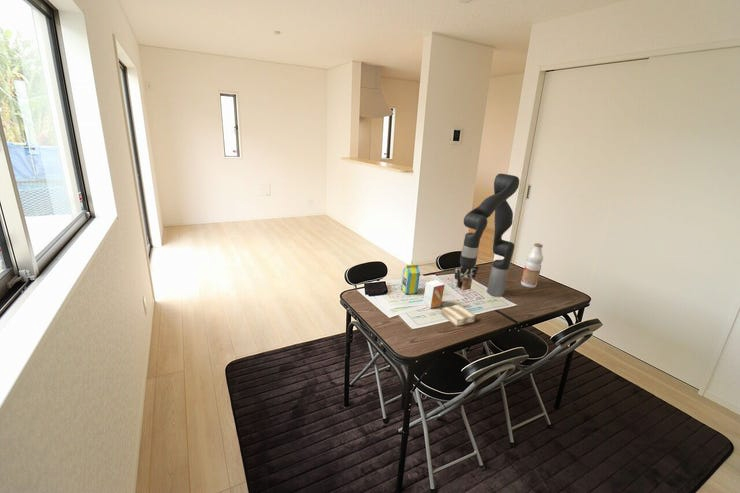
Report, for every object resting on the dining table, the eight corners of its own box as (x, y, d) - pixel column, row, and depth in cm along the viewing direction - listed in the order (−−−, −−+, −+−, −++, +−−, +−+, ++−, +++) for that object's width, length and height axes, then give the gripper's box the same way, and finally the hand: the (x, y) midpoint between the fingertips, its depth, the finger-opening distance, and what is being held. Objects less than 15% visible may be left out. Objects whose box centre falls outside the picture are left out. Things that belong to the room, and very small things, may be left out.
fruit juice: (526, 288, 221) (537, 246, 211) (517, 282, 229) (527, 241, 220) (539, 288, 223) (550, 246, 214) (529, 281, 231) (540, 241, 222)
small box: (430, 309, 185) (433, 286, 181) (422, 303, 190) (425, 282, 186) (441, 305, 190) (445, 284, 186) (433, 300, 195) (436, 279, 190)
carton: (411, 287, 208) (415, 259, 202) (417, 293, 201) (421, 265, 195) (400, 288, 206) (403, 260, 200) (405, 294, 199) (409, 265, 193)
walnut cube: (463, 284, 176) (465, 275, 175) (470, 289, 172) (472, 279, 171) (455, 286, 174) (457, 277, 172) (462, 290, 170) (464, 281, 168)
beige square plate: (458, 310, 187) (459, 304, 185) (474, 322, 177) (475, 315, 176) (440, 315, 181) (441, 308, 180) (456, 326, 171) (457, 319, 170)
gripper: (474, 250, 174) (468, 281, 179) (452, 253, 167) (447, 285, 173) (485, 255, 168) (479, 287, 173) (463, 259, 161) (457, 292, 167)
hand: (463, 286), depth 173 cm, fingers closed on walnut cube, 5 cm apart
